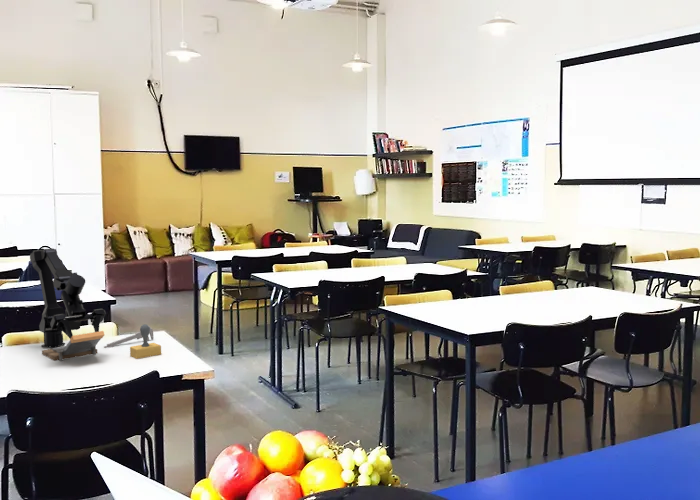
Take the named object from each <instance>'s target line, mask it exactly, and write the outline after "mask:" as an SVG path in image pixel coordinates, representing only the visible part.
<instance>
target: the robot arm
mask: <svg viewBox="0 0 700 500" xmlns="http://www.w3.org/2000/svg"><path fill="white" fill-rule="evenodd" d="M29 261H30V262H31V264H32V268H33V269H34V270H35V271H36V272H37V273H38V276H39V281H40V286H41V293H42V298H43V303H44V309H43V312H42V314H41V320H40V322H39V325H38V327H39V331H40V332H41V333H43V342H44V344H42V345H41V347H43V348H51V349H52V348H57V347H62V346H65V345H66V343H65V342H64V335H66V336H67V337H68V338H69V340H70V339H71V337H72V336H74V335H73V332H72V331H75V330H76V331H77V330H79V329H81V324H82V321H89V320H90V322H91V326H93V329H94V332H99V331H100V324H101V323H103V321H104V319H105V317H106V314H107V313H106V310H105V309H103V308H97V309H93V310H92V312H91V313H87V309H86V308H84V305H83V299H81V298H80V294H82V291H83V289H84V287H85V284H86V279H85V278H84V276H82V275H80V274H78V272H72V271H71V270H68V269H67V268H66V267H65V265H64V263H63V262H62V261H61V258H60V257H59V255H58V251H57V249H56V248H53V247H52V248H44V249H39V250H37V249H36V250H33V251H32V252H31V253H30V254H29ZM56 290H57V291H62V292H61V294H60V295H61V300H60V301H62V302H63V304H64V307H65V310H64V307H62V306H60V305H59V304H58V300H57V299H58V298H57V295H56ZM64 311H65V312H64ZM86 313H87V314H86ZM63 333H64V334H63Z"/></svg>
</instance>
